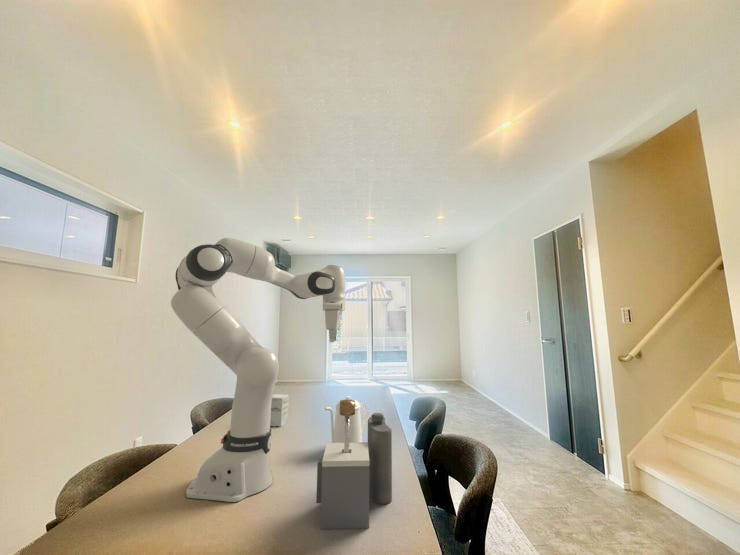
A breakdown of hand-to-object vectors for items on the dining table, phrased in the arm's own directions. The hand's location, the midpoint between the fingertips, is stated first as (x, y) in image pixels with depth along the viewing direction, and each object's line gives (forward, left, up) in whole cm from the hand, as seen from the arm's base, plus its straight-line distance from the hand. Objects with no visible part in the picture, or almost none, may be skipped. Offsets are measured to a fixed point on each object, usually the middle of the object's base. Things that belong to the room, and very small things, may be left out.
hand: (332, 341), depth 118 cm
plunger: (+7, -39, -38) cm, 55 cm away
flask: (+16, -28, -39) cm, 51 cm away
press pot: (+7, -39, -39) cm, 56 cm away
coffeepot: (+6, -1, -39) cm, 40 cm away
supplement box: (-27, +29, -39) cm, 56 cm away
